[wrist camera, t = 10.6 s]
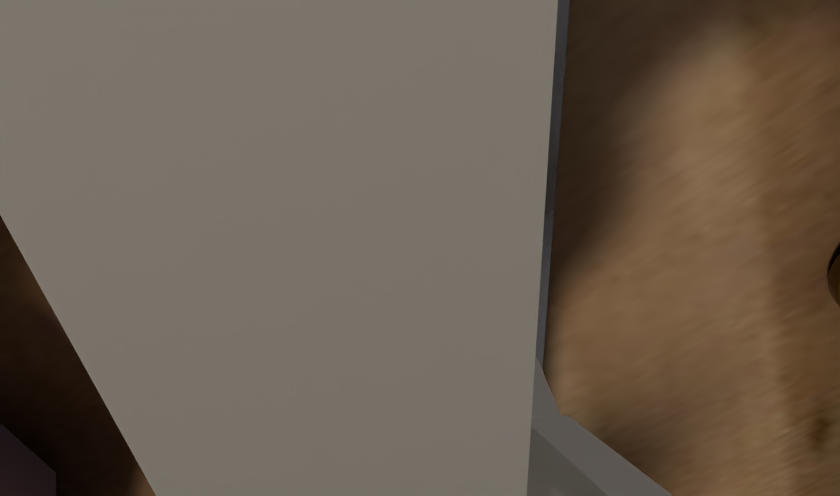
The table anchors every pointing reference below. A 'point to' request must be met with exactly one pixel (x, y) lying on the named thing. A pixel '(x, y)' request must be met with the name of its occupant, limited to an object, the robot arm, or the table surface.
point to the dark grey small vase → (835, 280)
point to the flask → (23, 469)
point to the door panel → (290, 231)
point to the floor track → (552, 168)
